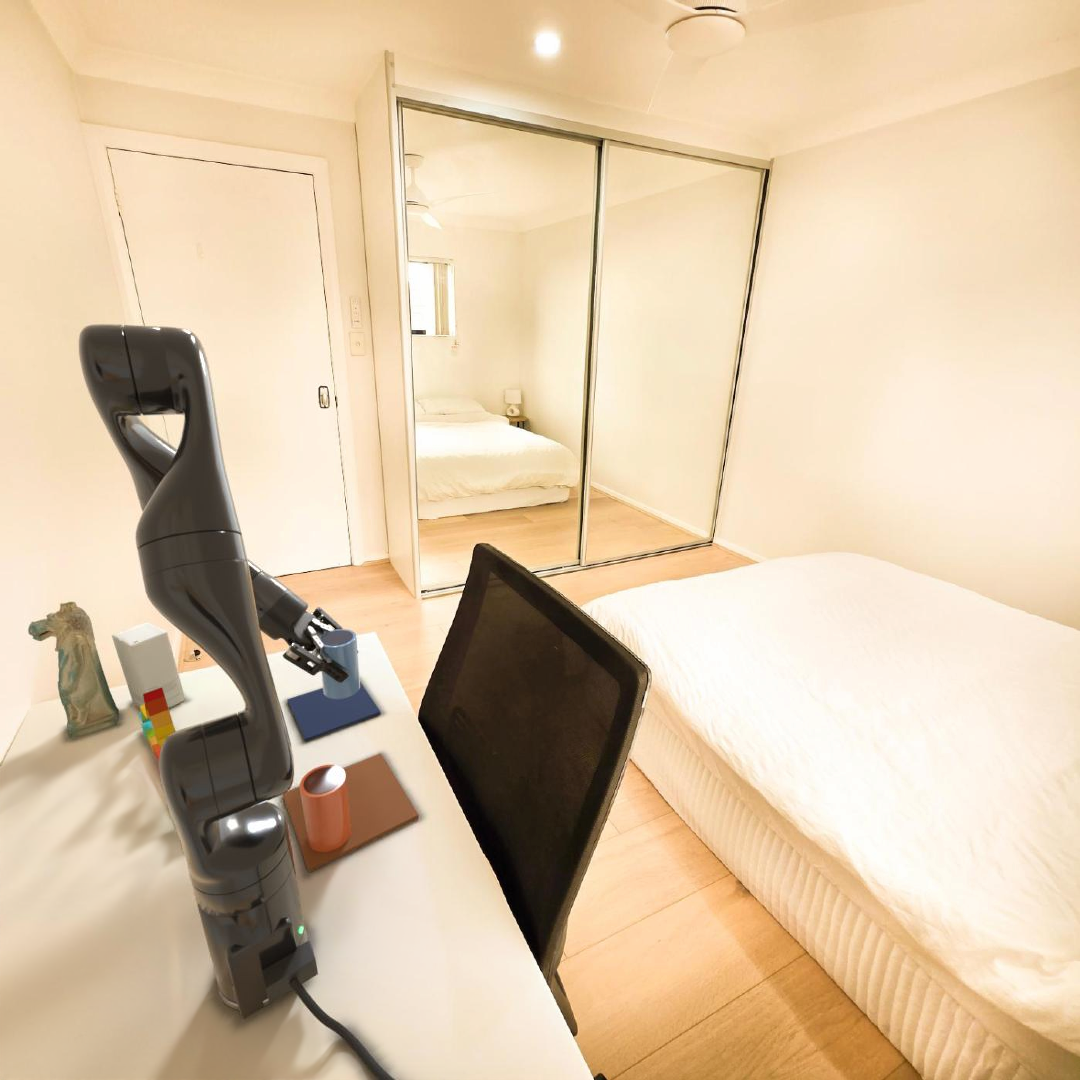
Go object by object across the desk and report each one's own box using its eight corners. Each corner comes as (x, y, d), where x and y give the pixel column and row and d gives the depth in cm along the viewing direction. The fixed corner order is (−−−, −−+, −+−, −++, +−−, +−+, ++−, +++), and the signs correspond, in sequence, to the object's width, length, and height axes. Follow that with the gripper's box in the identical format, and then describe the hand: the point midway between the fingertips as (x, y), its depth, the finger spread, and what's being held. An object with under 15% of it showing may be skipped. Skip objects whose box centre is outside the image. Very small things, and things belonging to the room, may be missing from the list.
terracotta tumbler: (357, 838, 76) (351, 784, 73) (314, 860, 73) (305, 804, 70) (344, 811, 81) (338, 758, 78) (303, 829, 78) (294, 775, 74)
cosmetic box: (186, 700, 106) (170, 632, 100) (149, 718, 100) (130, 646, 95) (165, 686, 110) (149, 619, 105) (128, 702, 105) (109, 633, 99)
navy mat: (380, 713, 104) (380, 711, 103) (305, 741, 96) (304, 739, 96) (357, 679, 114) (357, 676, 114) (287, 701, 106) (287, 699, 106)
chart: (219, 820, 79) (201, 739, 74) (195, 833, 77) (174, 750, 72) (164, 725, 99) (146, 655, 94) (143, 733, 97) (124, 662, 92)
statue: (60, 727, 97) (20, 605, 89) (117, 707, 103) (84, 591, 95) (65, 746, 93) (23, 619, 85) (124, 724, 99) (90, 603, 90)
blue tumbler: (366, 689, 92) (362, 638, 88) (333, 703, 88) (328, 651, 84) (349, 674, 95) (345, 625, 92) (317, 687, 91) (311, 636, 88)
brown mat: (418, 817, 81) (418, 814, 81) (308, 872, 72) (308, 869, 72) (381, 755, 93) (380, 752, 93) (282, 796, 84) (282, 793, 84)
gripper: (267, 610, 78) (356, 678, 83) (298, 571, 91) (373, 632, 96) (234, 642, 79) (324, 707, 84) (270, 599, 92) (345, 657, 98)
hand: (350, 666), depth 90 cm, fingers closed on blue tumbler, 6 cm apart
